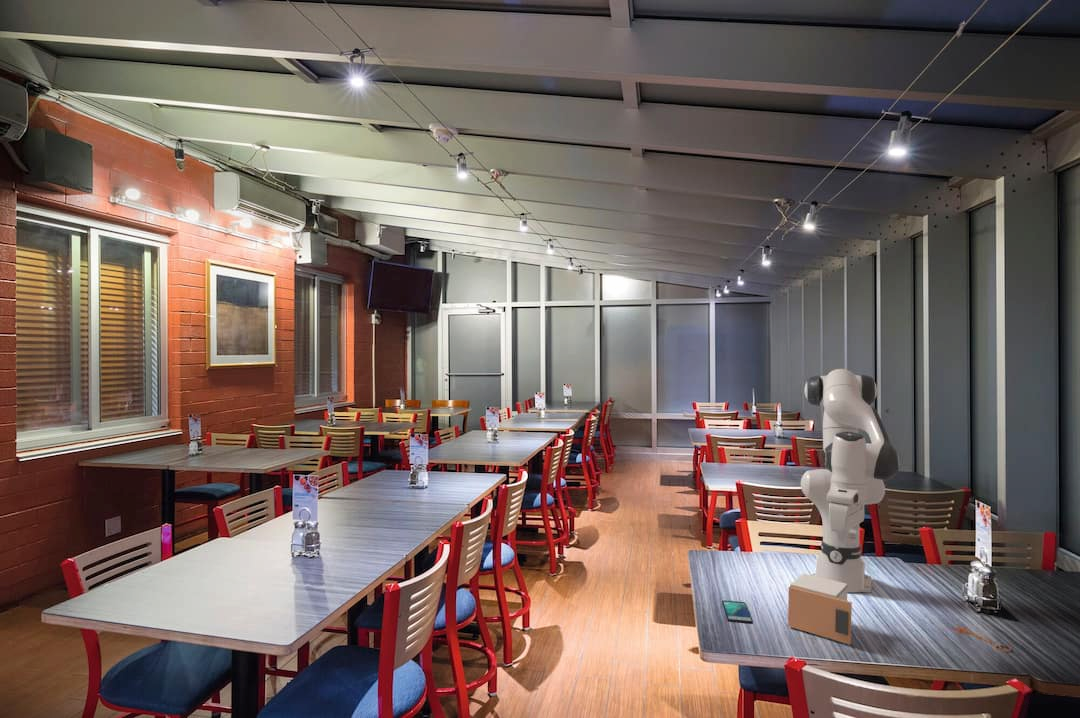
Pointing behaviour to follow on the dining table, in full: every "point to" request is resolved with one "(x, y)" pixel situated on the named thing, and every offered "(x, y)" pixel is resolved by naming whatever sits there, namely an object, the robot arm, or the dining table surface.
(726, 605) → the smartphone
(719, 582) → the dining table surface
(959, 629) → the key
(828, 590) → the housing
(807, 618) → the hatch
